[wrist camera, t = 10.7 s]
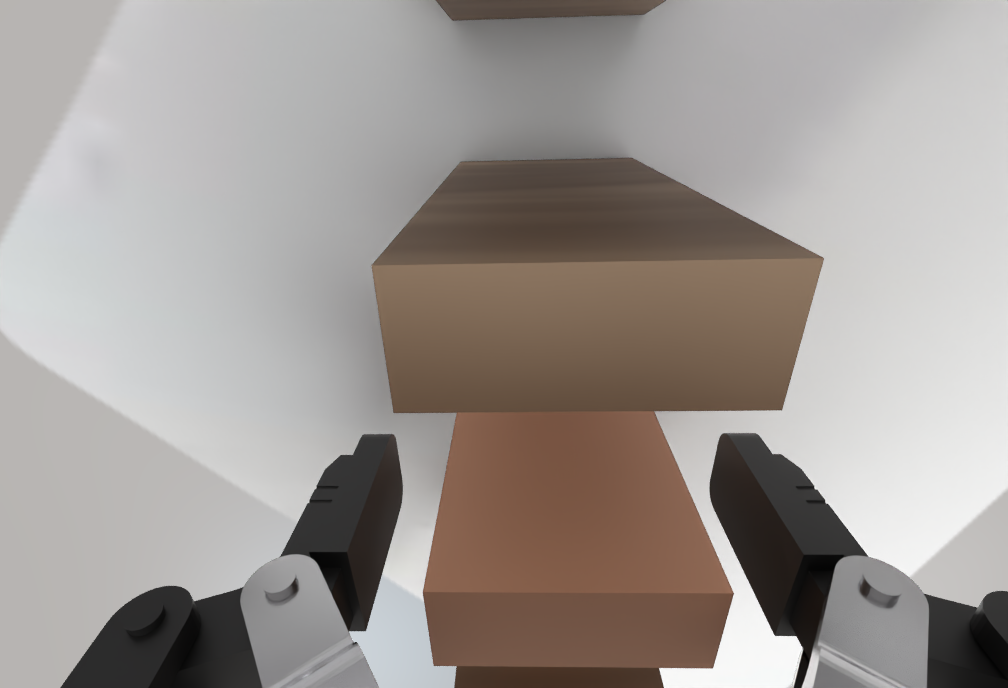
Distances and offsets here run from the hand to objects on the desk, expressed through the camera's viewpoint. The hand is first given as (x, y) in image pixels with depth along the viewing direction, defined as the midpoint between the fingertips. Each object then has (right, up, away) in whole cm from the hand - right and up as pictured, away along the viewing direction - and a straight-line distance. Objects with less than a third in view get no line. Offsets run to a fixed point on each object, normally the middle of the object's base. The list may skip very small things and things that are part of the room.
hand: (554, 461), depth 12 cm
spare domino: (0, +2, +5) cm, 6 cm away
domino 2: (0, +7, +3) cm, 8 cm away
